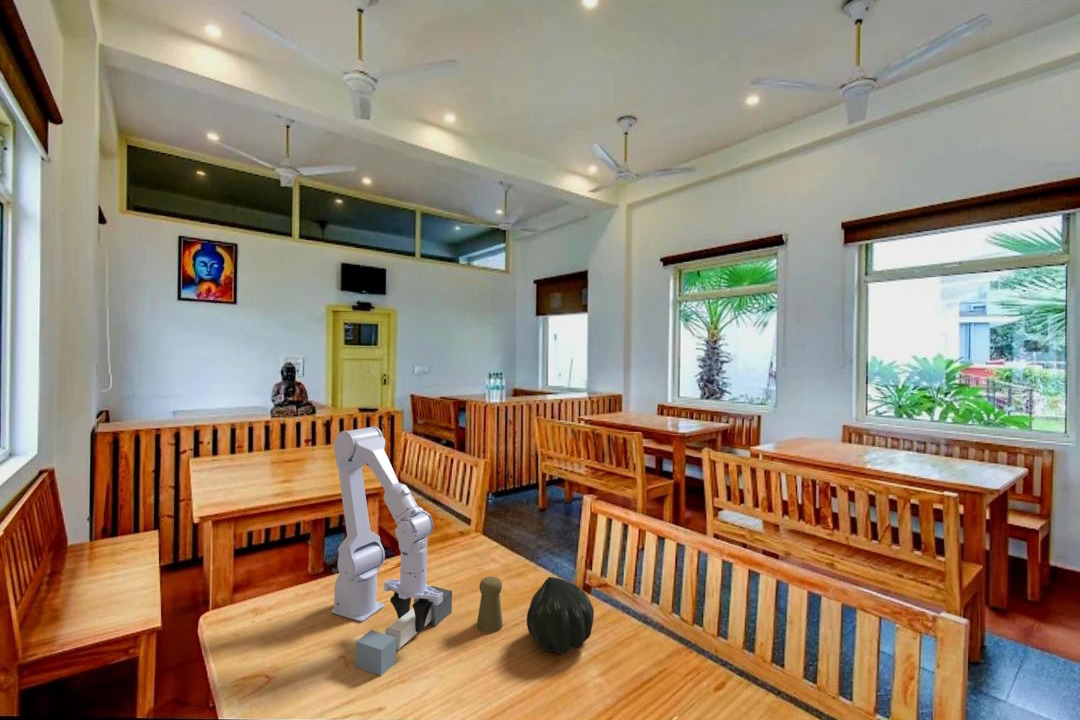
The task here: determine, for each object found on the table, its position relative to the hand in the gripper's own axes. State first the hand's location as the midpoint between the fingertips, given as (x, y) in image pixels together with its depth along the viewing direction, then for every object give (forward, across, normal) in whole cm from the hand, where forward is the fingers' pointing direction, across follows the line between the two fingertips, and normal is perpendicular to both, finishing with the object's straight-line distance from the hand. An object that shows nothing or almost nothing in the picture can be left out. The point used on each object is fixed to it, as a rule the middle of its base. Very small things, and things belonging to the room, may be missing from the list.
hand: (412, 627), depth 111 cm
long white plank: (+1, 0, +2) cm, 3 cm away
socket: (+1, 0, -12) cm, 12 cm away
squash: (+2, +31, +12) cm, 33 cm away
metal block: (+1, 0, +8) cm, 8 cm away
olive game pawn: (+2, +14, +10) cm, 18 cm away
